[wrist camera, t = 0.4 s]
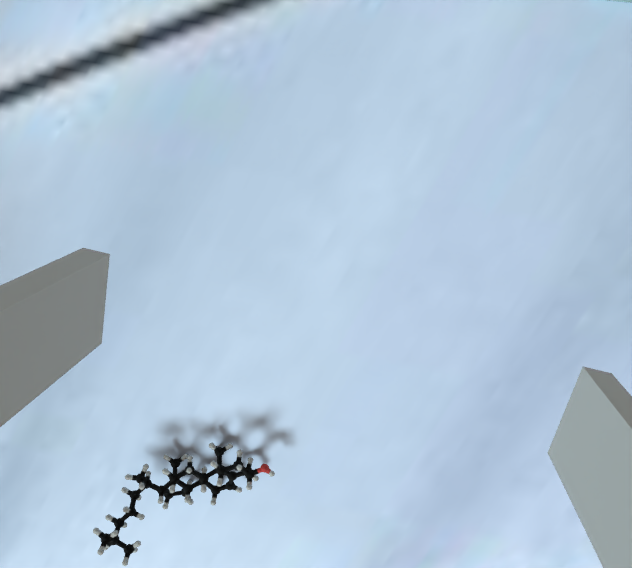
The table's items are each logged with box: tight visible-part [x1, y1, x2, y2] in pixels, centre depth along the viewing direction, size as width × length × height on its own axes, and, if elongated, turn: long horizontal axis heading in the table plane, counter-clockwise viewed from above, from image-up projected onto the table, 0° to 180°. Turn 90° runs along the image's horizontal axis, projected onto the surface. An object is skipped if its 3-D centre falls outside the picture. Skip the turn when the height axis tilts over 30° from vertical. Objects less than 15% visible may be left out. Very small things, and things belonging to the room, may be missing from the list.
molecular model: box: [93, 443, 275, 566], centre depth 46 cm, size 6×15×8 cm, turn 113°
